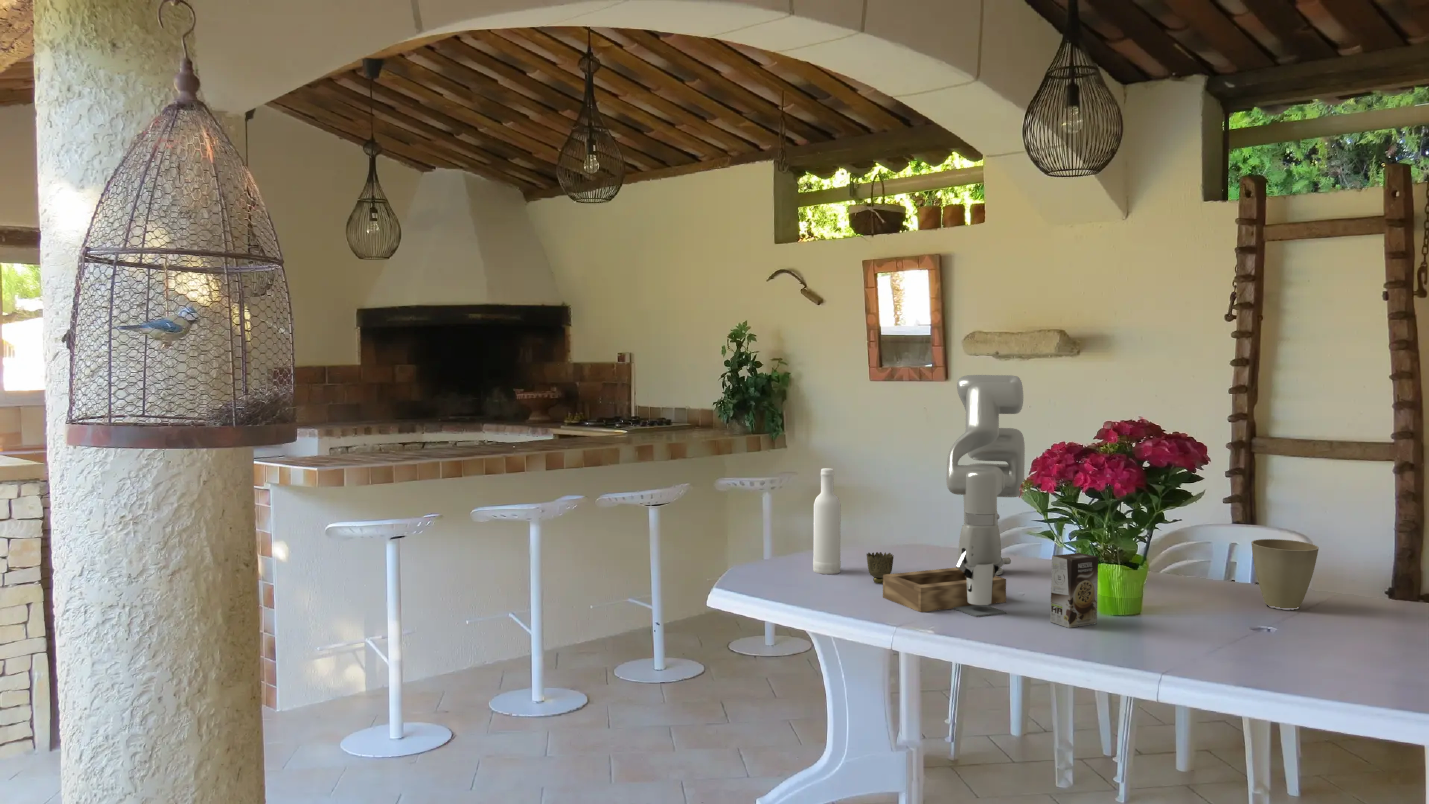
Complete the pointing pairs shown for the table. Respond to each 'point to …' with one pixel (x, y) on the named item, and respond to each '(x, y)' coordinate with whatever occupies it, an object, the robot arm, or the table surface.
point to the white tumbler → (980, 584)
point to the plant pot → (1284, 570)
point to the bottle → (827, 527)
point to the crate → (934, 589)
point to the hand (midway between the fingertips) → (980, 593)
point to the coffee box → (1074, 590)
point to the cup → (879, 565)
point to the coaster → (979, 610)
